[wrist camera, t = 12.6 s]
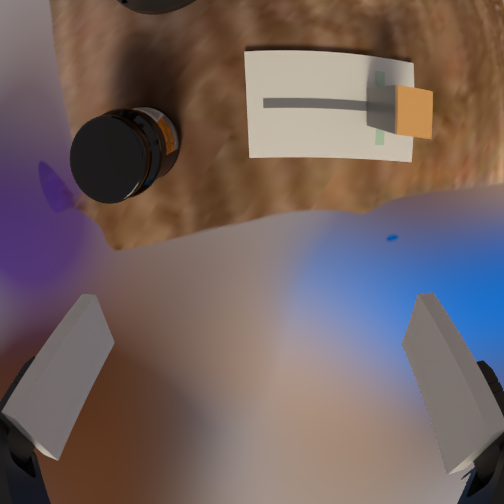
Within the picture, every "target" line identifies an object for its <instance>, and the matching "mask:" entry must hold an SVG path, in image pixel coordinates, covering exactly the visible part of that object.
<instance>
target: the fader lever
mask: <svg viewBox="0 0 504 504" xmlns="http://www.w3.org/2000/svg"><path fill="white" fill-rule="evenodd" d="M432 109H433V91H428V90H423V89H418V88H413V87H407V86H401V85H391V86H380V87H370V88H367V126H370V127H373V128H377V129H380V130H383V131H387V132H390V133H393V134H396V135H403V136H412V137H420V138H427V139H431V135H432Z"/></svg>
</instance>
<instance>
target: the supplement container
mask: <svg viewBox="0 0 504 504" xmlns="http://www.w3.org/2000/svg"><path fill="white" fill-rule="evenodd" d="M179 152H180V135H179V132H178V129H177V127H176V125H175V123H174V121H173V120H172V119H171V118H170V117H169V116H168V115H167V114H166V113H165V112H163V111H161V110H159V109H157V108H153V107H137V108H130V109H124V108H122V109H114V110H111V111H108V112H106V113H104V114H102V115H101V116H99V117H96V118H93V119H91V120H90V121H88V122H87V123H85V124H84V125H83V126H82V127H81V128H80V130H79V131H78V132H77V134H76V136H75V138H74V140H73V142H72V146H71V150H70V166H71V171H72V174H73V177H74V179H75V181H76V183H77V185H78V186H79V188H80V189H81V190H82V191H83V192H84V193H85V194H86V195H87V196H88V197H90V198H91V199H93V200H95V201H98V202H101V203H106V204H113V203H118V202H121V201H124V200H126V199H127V198H130V197H134V196H137V195H139V194H141V193H143V192H144V191H145V190H147V189H148V188H149V187H150V186H151V185H152V184H153V183H154V182H155V181H157V180H158V179H159V178H161V177H163V176H164V175H165V174H167V173H168V172H169V171H170V170H171V169H172V167H173V166H174V164H175V163H176V161H177V158H178V155H179Z"/></svg>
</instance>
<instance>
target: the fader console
mask: <svg viewBox="0 0 504 504" xmlns="http://www.w3.org/2000/svg"><path fill="white" fill-rule="evenodd" d="M244 55H245V75H246V95H247V116H248V136H249V157H250V158H264V157H328V158H357V159H375V160H390V161H403V162H411V160H412V147H413V137H412V136H403V135H396V134H393V133H390V132H387V131H383V130H380V129H377V128H373V127H370V126H367V88H370V87H380V86H391V85H401V86H407V87H413V88H414V65H413V63H410V62H404V61H399V60H393V59H387V58H381V57H374V56H366V55H358V54H348V53H337V52H323V51H296V50H272V51H246V52H244Z"/></svg>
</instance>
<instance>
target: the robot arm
mask: <svg viewBox="0 0 504 504" xmlns="http://www.w3.org/2000/svg"><path fill="white" fill-rule="evenodd" d="M117 1H118V2H119V3H121V4H122V5H123V6H125V7H127V8H129V9H131V10H133V11H135V12H138V13H142V14H163V13H168V12H172V11H175V10H178V9H180V8H183V7H185V6H187V5H189V4H190V3H192V2H194V1H195V0H117ZM113 345H114V340H113V337H112V335H111V333H110V330H109V328H108V325H107V323H106V320H105V318H104V315H103V313H102V310H101V307H100V305H99V302H98V299H97V296H96V295H87V294H82V295H81V296H80V298H79V299H78V300H77V302H76V303H75V304H74V305H73V307H72V308H71V309H70V311H69V312H68V313H67V314H66V316H65V317H64V319H63V320H62V321H61V322H60V324H59V325H58V326H57V328H56V329H55V331H54V332H53V333H52V335H51V336H50V338H49V339H48V340H47V342H46V343H45V345H44V346H43V347H42V349H41V350H40V352H39V353H38V355H37V356H36V357H32V358H31V359H30V360H29V361H28V362H26V363H25V364H24V366H23V367H22V369H21V370H20V372H19V373H18V376H16V378H15V379H14V383H12V384H11V385H10V387H9V389H8V390H7V392H6V394H5V395H4V397H3V398H2V400H1V402H0V504H51V503H50V500H49V497H48V494H47V491H46V488H45V484H44V481H43V478H42V474H41V471H40V467H39V463H38V459H37V456H36V454H35V452H34V451H33V450H34V448H35V447H36V448H37V449H38V450H40V451H41V452H42V453H43V454H44V455H47V456H49V457H51V458H54V459H56V460H59V458H60V455H61V453H62V451H63V448H64V446H65V444H66V441H67V439H68V437H69V434H70V432H71V430H72V428H73V426H74V423H75V421H76V419H77V417H78V415H79V413H80V410H81V408H82V406H83V404H84V402H85V400H86V398H87V396H88V394H89V392H90V389H91V388H92V385H93V383H94V381H95V379H96V377H97V376H98V374H99V372H100V370H101V368H102V366H103V364H104V362H105V360H106V358H107V356H108V354H109V352H110V350H111V349H112V347H113ZM402 346H403V348H404V350H405V353H406V355H407V358H408V360H409V363H410V365H411V368H412V371H413V373H414V376H415V378H416V381H417V383H418V386H419V389H420V392H421V394H422V397H423V400H424V403H425V406H426V408H427V411H428V414H429V417H430V420H431V423H432V426H433V429H434V433H435V436H436V439H437V442H438V445H439V449H440V452H441V456H442V459H443V463H444V466H445V470H446V474H447V475H449V474H451V473H454V472H457V471H460V470H462V469H465V468H466V467H467V466H468V465H469V464H471V463H472V462H474V465H475V467H474V468H473V469H472V470H470V471H469V472H468V473H467V474H466V475H464V476H463V478H462V479H461V481H462V482H463V481H464V480H466V479H467V478H468V477H469V479H468V481H467V482H466V486H465V488H464V490H463V493H462V495H461V497H460V499H459V501H458V503H457V504H504V391H503V388H502V386H501V384H500V382H498V379H497V377H496V375H495V373H494V372H493V369H491V368H490V367H489V366H488V365H487V364H486V363H485V362H484V361H479V362H476V361H475V359H474V357H473V356H472V354H471V352H470V350H469V348H468V347H467V345H466V343H465V342H464V340H463V338H462V337H461V335H460V333H459V332H458V330H457V328H456V327H455V325H454V324H453V322H452V320H451V319H450V317H449V316H448V314H447V312H446V311H445V309H444V308H443V307H442V305H441V303H440V302H439V300H438V299H437V297H436V296H435V294H434V293H424V294H418V296H417V299H416V303H415V306H414V309H413V312H412V316H411V319H410V322H409V325H408V328H407V331H406V333H405V336H404V339H403V342H402Z"/></svg>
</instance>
